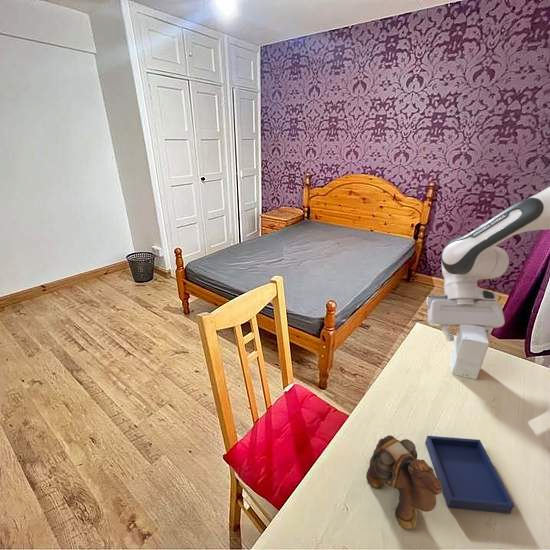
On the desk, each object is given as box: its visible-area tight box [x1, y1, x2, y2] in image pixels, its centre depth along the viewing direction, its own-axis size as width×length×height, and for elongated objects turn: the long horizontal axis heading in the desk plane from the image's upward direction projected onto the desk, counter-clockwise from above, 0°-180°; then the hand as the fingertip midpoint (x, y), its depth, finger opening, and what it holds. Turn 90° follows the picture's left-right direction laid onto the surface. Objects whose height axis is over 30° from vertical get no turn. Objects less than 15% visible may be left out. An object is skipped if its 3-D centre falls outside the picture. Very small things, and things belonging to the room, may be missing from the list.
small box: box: [449, 325, 490, 380], centre depth 88 cm, size 8×6×13 cm
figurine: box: [365, 435, 442, 530], centre depth 58 cm, size 9×15×15 cm, turn 26°
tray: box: [424, 435, 515, 514], centre depth 63 cm, size 11×13×3 cm
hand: (467, 342), depth 88 cm, fingers open, 8 cm apart
